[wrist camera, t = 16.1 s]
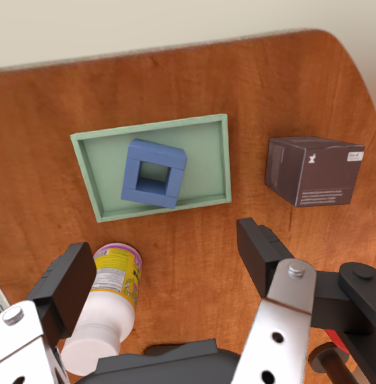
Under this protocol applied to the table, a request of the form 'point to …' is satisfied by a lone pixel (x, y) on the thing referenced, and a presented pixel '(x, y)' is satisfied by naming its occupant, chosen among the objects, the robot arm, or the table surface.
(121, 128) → the tray
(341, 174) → the box
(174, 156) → the holed block
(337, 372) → the dowel stand
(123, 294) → the supplement bottle
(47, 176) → the table surface
